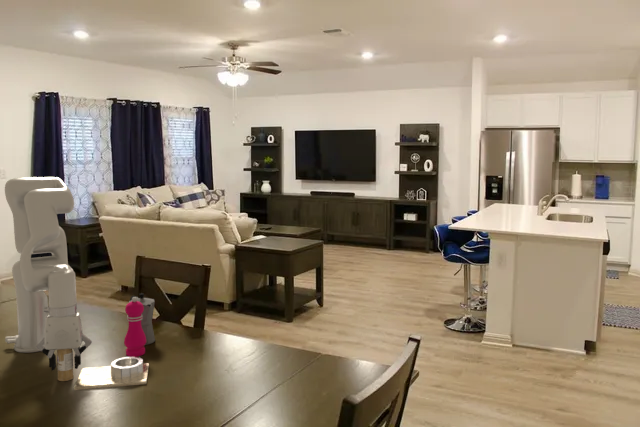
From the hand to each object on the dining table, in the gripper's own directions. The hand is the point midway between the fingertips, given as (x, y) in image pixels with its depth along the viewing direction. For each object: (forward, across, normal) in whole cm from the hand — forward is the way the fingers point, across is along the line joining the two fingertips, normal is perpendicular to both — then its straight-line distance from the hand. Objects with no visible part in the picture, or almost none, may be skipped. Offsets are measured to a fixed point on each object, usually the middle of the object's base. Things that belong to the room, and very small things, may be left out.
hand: (65, 367), depth 166 cm
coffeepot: (+4, +20, +30) cm, 36 cm away
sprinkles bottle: (+4, 0, 0) cm, 4 cm away
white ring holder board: (+4, +14, -2) cm, 15 cm away
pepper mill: (+4, +19, +17) cm, 26 cm away
